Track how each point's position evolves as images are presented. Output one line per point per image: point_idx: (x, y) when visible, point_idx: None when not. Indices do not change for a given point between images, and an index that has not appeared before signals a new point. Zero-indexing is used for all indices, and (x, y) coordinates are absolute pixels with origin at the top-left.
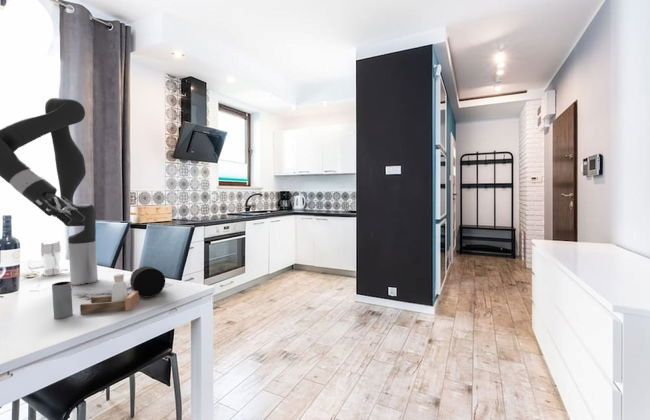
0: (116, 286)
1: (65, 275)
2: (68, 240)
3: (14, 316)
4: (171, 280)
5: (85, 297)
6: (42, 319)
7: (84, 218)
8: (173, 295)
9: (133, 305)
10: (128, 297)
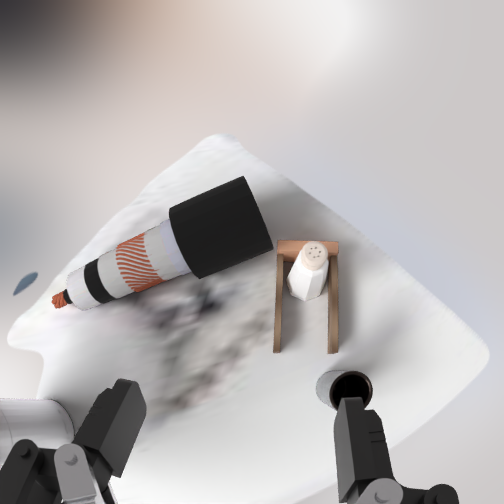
0: (327, 265)
1: None
2: None
3: (297, 489)
4: (115, 220)
5: (190, 395)
6: None
7: (132, 382)
8: None
9: None
10: (331, 246)
